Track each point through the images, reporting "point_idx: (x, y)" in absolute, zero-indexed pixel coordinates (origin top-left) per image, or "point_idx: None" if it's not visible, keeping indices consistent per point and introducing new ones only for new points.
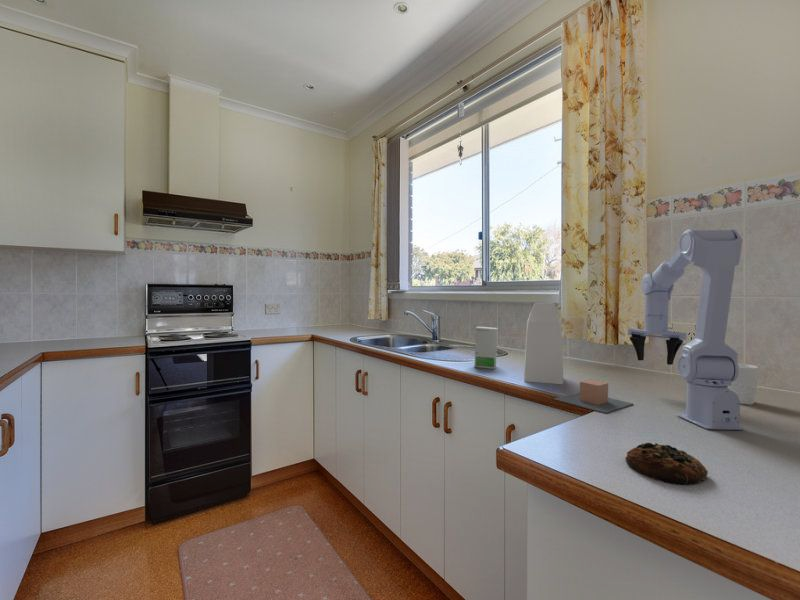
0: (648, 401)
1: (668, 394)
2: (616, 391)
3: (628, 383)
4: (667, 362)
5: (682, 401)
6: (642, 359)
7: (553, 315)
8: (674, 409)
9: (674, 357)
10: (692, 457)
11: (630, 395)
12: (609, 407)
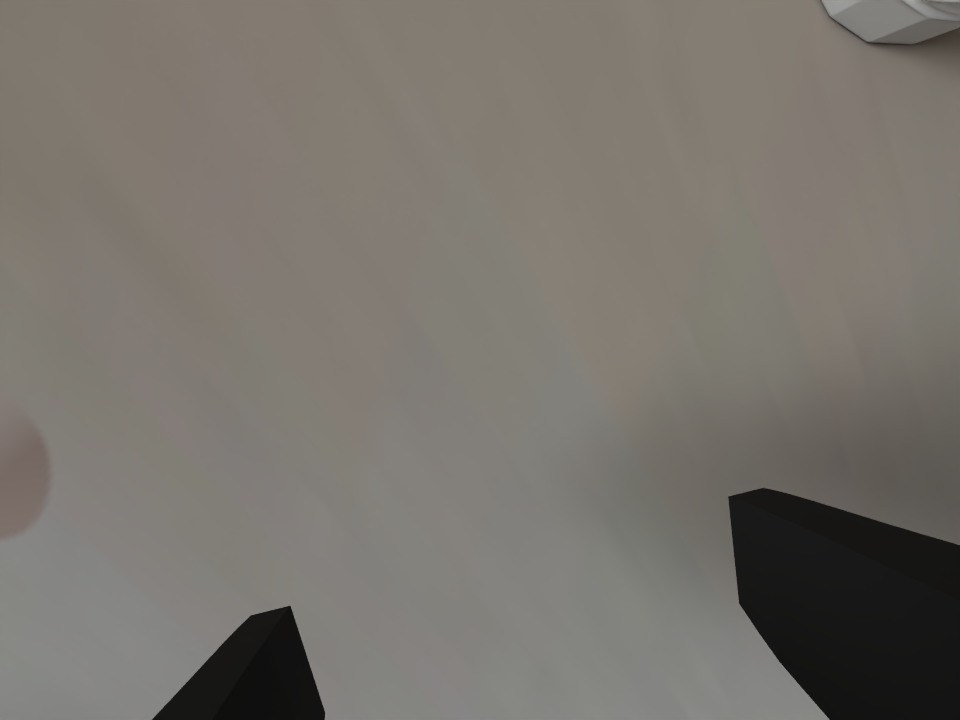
0: (587, 645)
1: (518, 297)
2: None
3: (41, 238)
4: (768, 634)
5: (691, 411)
6: (296, 647)
7: None
8: (765, 649)
9: (881, 529)
10: None
11: (425, 631)
12: None
